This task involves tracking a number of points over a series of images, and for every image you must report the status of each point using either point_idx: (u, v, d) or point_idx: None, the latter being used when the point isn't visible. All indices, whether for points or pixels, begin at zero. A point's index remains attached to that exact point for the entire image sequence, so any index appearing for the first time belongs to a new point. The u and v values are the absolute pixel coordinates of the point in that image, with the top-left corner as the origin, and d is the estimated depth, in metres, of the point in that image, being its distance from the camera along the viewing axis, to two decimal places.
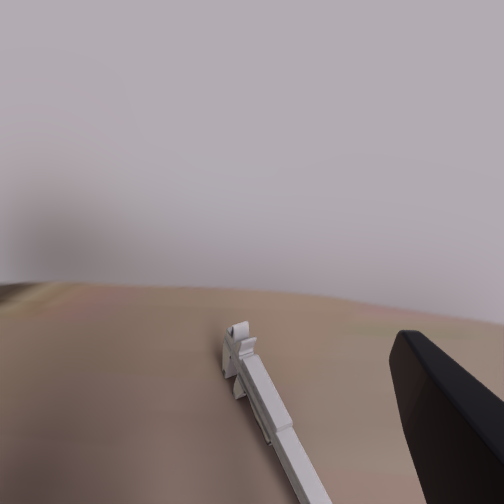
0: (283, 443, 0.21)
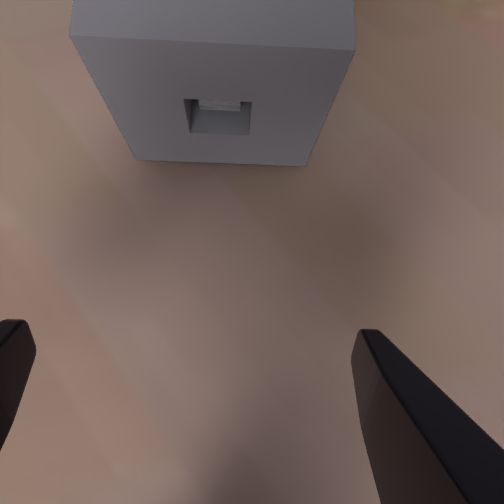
0: None
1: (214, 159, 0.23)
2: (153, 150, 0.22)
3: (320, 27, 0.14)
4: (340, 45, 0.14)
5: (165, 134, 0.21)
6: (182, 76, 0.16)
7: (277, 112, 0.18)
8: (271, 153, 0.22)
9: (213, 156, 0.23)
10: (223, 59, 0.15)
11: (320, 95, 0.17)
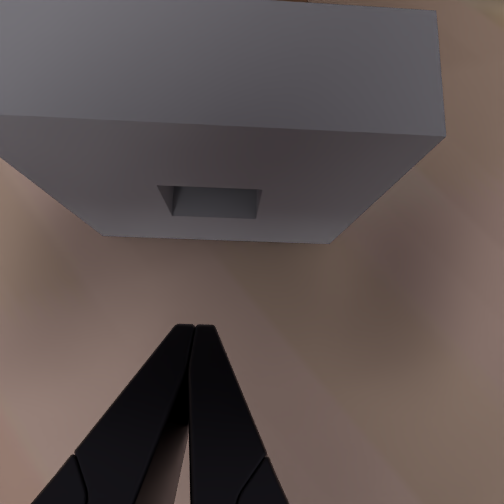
0: None
1: (208, 237, 0.17)
2: (124, 229, 0.16)
3: (384, 95, 0.08)
4: (419, 127, 0.08)
5: (138, 217, 0.15)
6: (151, 163, 0.10)
7: (299, 200, 0.12)
8: (285, 233, 0.16)
9: (206, 234, 0.17)
10: (217, 144, 0.09)
11: (369, 184, 0.11)
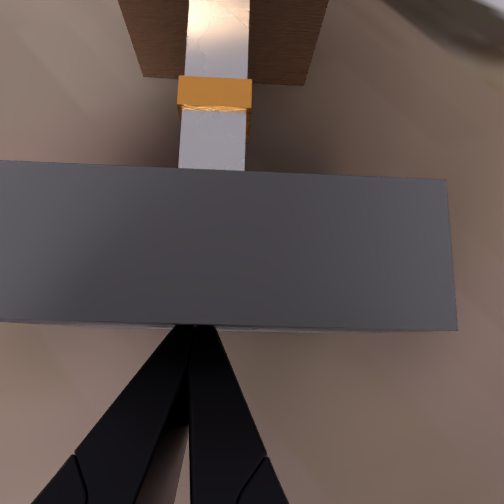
0: None
1: None
2: (115, 327, 0.16)
3: (390, 282, 0.08)
4: (429, 321, 0.08)
5: None
6: (138, 324, 0.09)
7: (298, 330, 0.12)
8: None
9: None
10: None
11: None
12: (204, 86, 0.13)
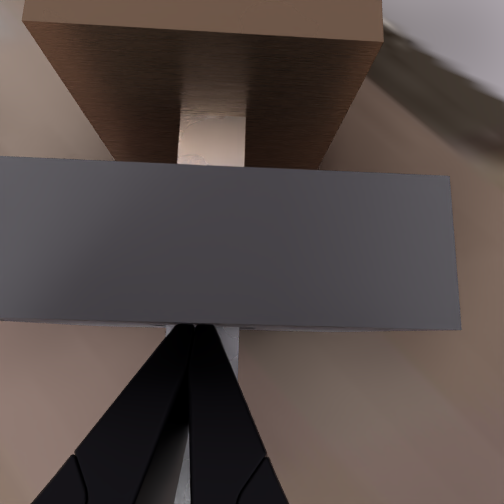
0: None
1: None
2: None
3: (392, 280, 0.07)
4: (432, 320, 0.07)
5: None
6: (136, 323, 0.09)
7: None
8: None
9: None
10: None
11: None
12: None
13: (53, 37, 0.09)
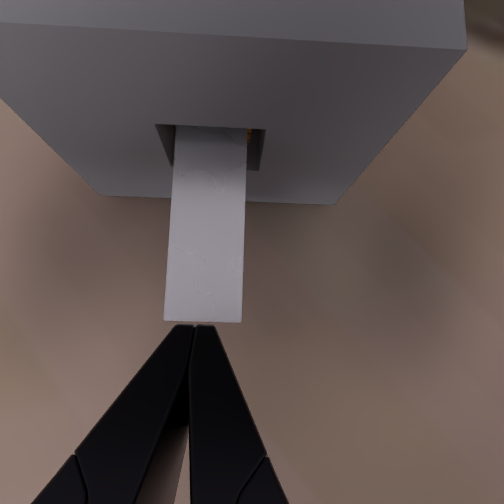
0: None
1: None
2: (121, 186, 0.16)
3: (400, 5, 0.08)
4: (438, 41, 0.08)
5: (135, 169, 0.14)
6: (148, 92, 0.09)
7: (305, 144, 0.12)
8: (289, 191, 0.16)
9: None
10: (218, 65, 0.08)
11: (379, 121, 0.10)
12: None
13: None
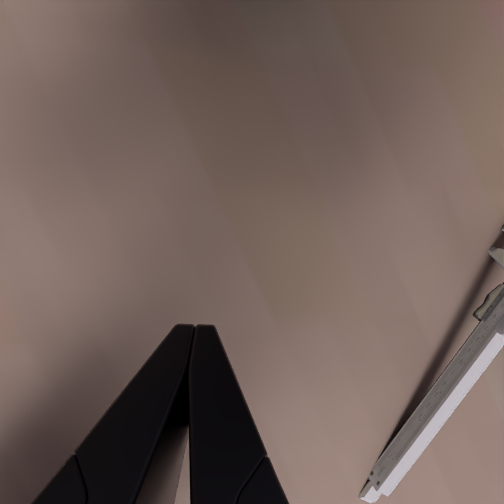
0: (491, 342, 0.23)
1: None
2: None
3: None
4: None
5: None
6: None
7: None
8: None
9: None
10: None
11: None
12: None
13: None
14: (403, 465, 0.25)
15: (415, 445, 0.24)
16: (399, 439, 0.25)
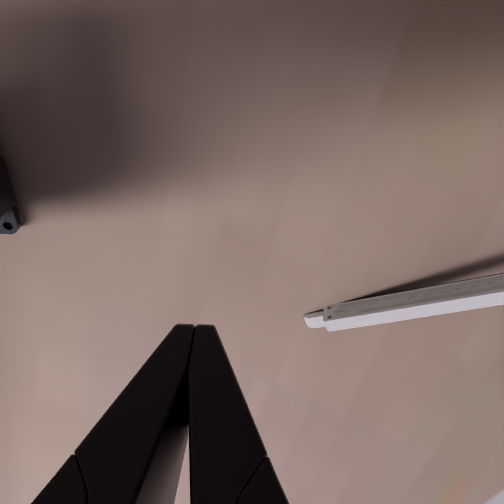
0: None
1: None
2: None
3: None
4: None
5: None
6: None
7: None
8: None
9: None
10: None
11: None
12: None
13: None
14: (362, 320, 0.24)
15: (387, 313, 0.24)
16: (376, 301, 0.24)
